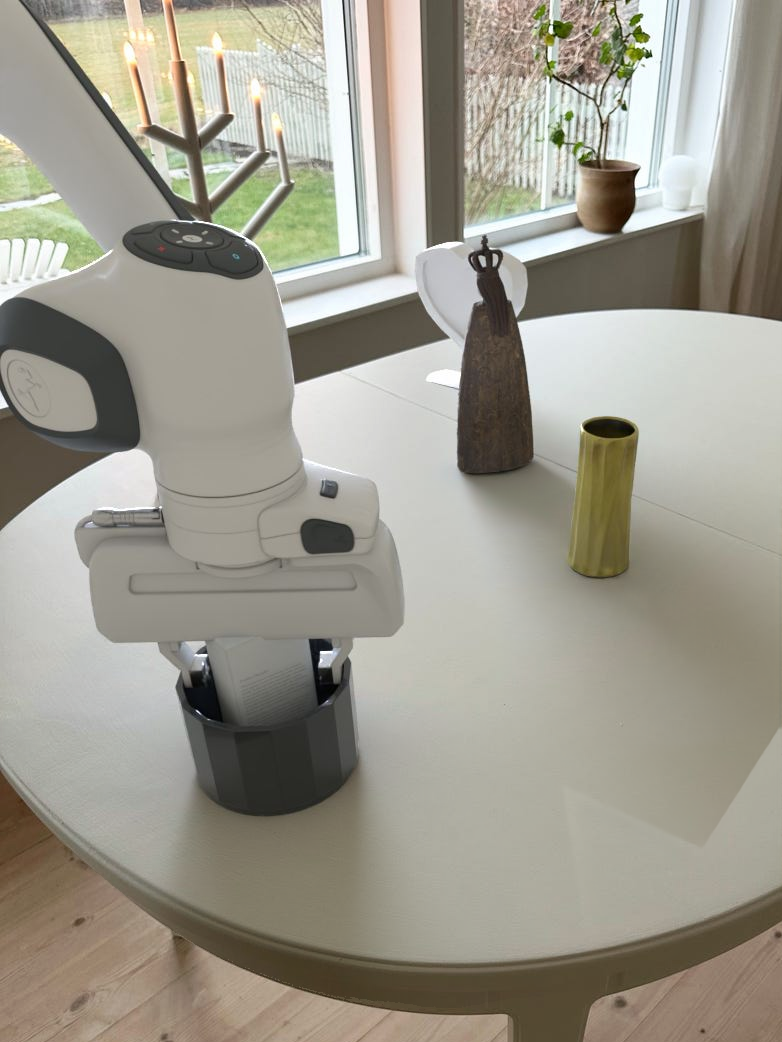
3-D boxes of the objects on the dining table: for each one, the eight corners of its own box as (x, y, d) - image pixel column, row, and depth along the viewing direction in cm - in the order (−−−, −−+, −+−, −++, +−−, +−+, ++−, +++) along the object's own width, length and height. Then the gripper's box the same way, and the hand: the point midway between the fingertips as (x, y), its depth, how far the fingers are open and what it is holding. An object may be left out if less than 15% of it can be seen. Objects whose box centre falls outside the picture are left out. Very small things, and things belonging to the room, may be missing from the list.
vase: (614, 585, 91) (628, 446, 83) (556, 568, 94) (564, 432, 85) (638, 556, 95) (653, 421, 87) (582, 541, 98) (591, 409, 89)
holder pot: (181, 818, 67) (158, 733, 62) (213, 707, 76) (195, 626, 72) (353, 813, 67) (344, 728, 62) (363, 704, 77) (355, 622, 72)
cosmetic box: (298, 719, 74) (280, 591, 67) (325, 749, 72) (308, 619, 65) (226, 751, 71) (198, 620, 64) (251, 784, 69) (225, 650, 62)
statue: (485, 443, 117) (486, 226, 102) (540, 456, 114) (549, 235, 99) (448, 470, 111) (444, 244, 96) (505, 485, 108) (510, 254, 93)
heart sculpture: (415, 377, 135) (409, 243, 124) (436, 367, 138) (432, 235, 127) (507, 401, 128) (510, 261, 117) (527, 389, 131) (531, 252, 120)
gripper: (50, 535, 56) (104, 713, 65) (397, 529, 57) (407, 706, 65) (82, 486, 61) (128, 657, 70) (400, 481, 62) (408, 650, 70)
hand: (265, 680), depth 67 cm, fingers open, 8 cm apart
